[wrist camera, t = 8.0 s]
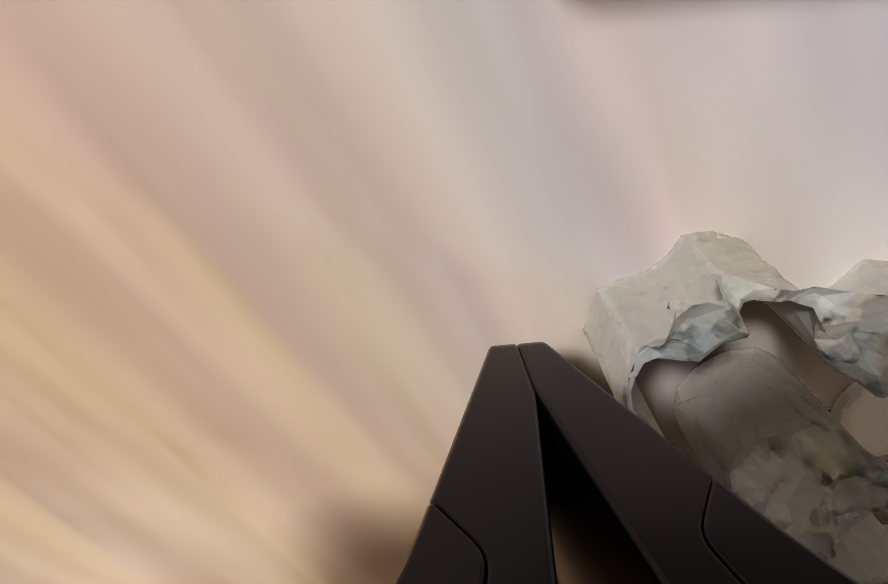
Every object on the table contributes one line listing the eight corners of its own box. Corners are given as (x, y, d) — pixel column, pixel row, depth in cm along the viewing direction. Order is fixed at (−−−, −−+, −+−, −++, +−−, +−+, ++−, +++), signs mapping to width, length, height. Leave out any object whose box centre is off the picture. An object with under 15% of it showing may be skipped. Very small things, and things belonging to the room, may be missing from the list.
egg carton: (1157, 281, 11) (1528, 440, 7) (916, 543, 14) (1084, 735, 11) (622, 179, 9) (761, 320, 6) (501, 503, 13) (540, 715, 9)
